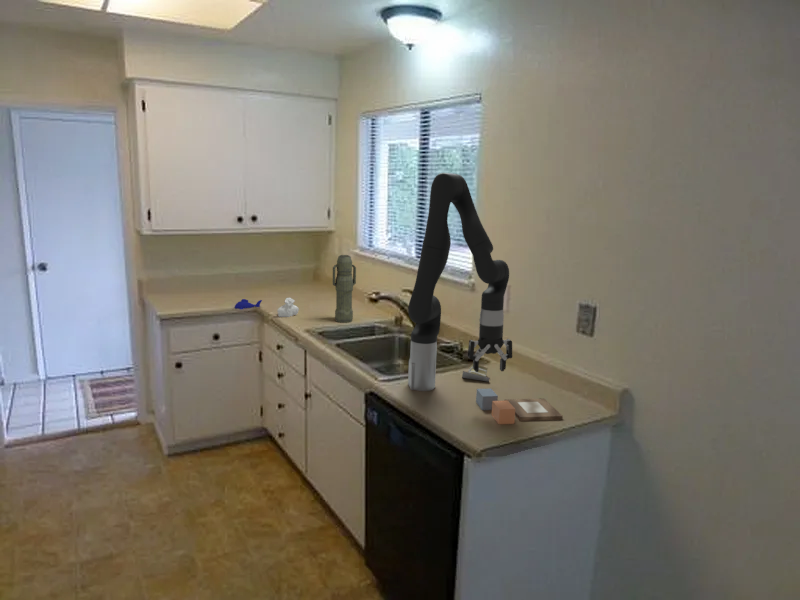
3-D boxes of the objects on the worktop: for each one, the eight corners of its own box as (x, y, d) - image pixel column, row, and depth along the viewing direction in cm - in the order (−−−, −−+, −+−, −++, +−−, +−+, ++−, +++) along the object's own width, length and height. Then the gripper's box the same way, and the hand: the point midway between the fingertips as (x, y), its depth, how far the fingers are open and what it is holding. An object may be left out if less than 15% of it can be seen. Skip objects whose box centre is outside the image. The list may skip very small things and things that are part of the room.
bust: (295, 315, 310) (295, 294, 308) (301, 318, 304) (301, 297, 302) (274, 317, 303) (274, 296, 301) (280, 320, 297) (279, 299, 295)
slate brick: (481, 411, 186) (482, 396, 185) (475, 403, 193) (476, 388, 192) (496, 410, 187) (497, 396, 186) (490, 402, 193) (491, 388, 192)
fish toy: (235, 313, 311) (235, 300, 310) (233, 310, 318) (233, 298, 317) (263, 311, 317) (263, 299, 316) (260, 308, 324) (260, 296, 323)
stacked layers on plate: (486, 390, 218) (489, 378, 221) (489, 378, 211) (492, 365, 214) (460, 383, 219) (464, 371, 223) (463, 371, 212) (466, 359, 216)
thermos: (358, 324, 294) (359, 256, 287) (336, 326, 288) (337, 257, 281) (350, 320, 302) (351, 254, 295) (329, 322, 296) (330, 254, 289)
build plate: (519, 420, 179) (520, 416, 178) (504, 402, 193) (504, 399, 193) (562, 419, 181) (562, 415, 180) (543, 401, 195) (544, 398, 195)
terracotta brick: (498, 424, 176) (499, 409, 175) (491, 415, 182) (492, 400, 181) (514, 424, 176) (515, 408, 175) (506, 415, 183) (507, 400, 182)
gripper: (473, 325, 179) (471, 375, 183) (516, 324, 182) (514, 374, 185) (466, 320, 187) (465, 368, 190) (508, 319, 189) (506, 366, 192)
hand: (489, 371), depth 187 cm, fingers open, 8 cm apart
